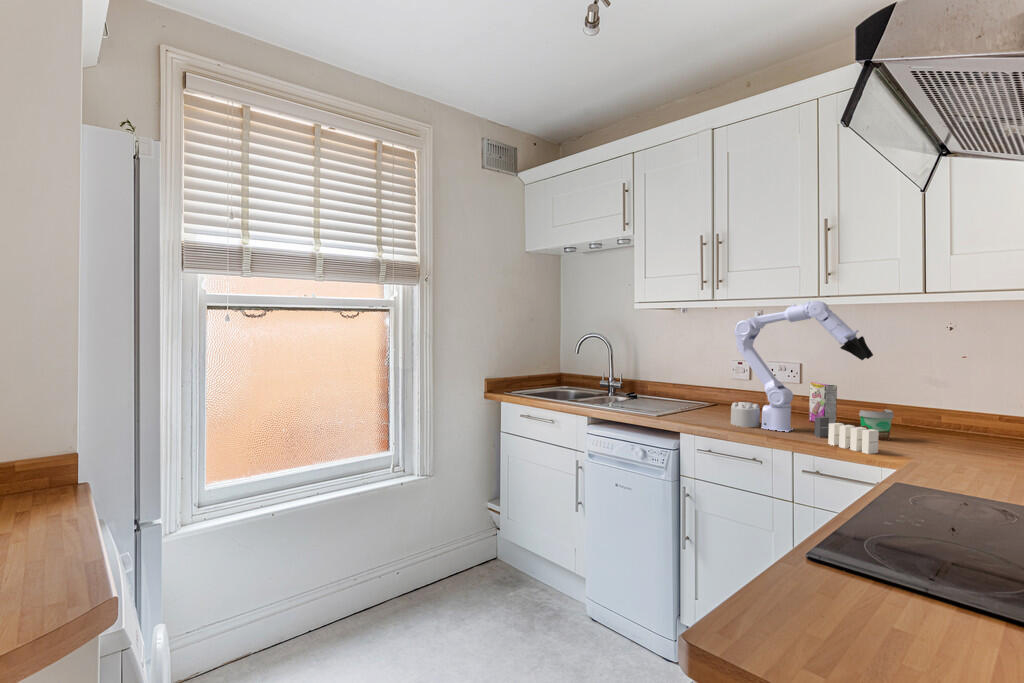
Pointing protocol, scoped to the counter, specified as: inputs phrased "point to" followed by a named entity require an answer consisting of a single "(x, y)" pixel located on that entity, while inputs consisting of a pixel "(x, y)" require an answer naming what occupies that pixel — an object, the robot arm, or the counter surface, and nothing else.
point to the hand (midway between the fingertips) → (867, 357)
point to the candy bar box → (823, 401)
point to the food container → (877, 422)
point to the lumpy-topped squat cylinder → (745, 414)
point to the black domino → (821, 426)
